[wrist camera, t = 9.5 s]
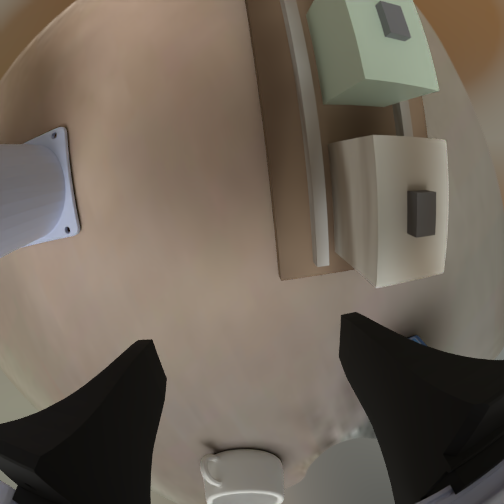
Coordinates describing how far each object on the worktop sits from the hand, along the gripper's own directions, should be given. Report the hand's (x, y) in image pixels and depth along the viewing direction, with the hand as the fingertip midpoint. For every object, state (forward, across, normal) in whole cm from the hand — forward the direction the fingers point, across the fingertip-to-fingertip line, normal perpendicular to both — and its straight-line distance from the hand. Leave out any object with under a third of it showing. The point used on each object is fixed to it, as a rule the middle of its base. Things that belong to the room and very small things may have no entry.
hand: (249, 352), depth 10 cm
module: (+8, -8, -14) cm, 18 cm away
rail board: (+9, -8, -10) cm, 16 cm away
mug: (+10, +4, +25) cm, 27 cm away
